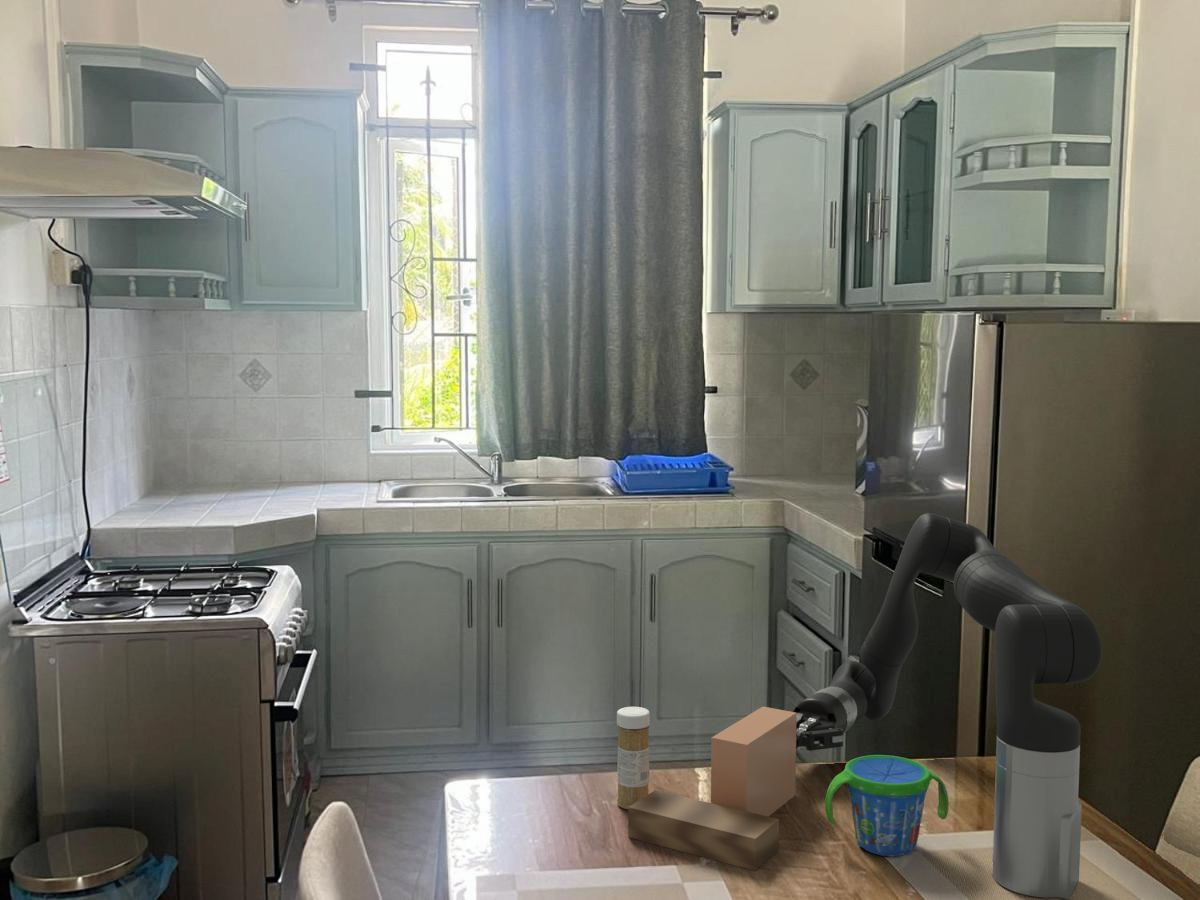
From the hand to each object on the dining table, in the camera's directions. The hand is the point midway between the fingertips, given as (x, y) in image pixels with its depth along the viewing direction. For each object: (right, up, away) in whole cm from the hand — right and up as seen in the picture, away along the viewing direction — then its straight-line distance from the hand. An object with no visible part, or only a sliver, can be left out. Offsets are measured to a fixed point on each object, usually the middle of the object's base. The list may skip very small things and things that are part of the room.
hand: (779, 747), depth 164 cm
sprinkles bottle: (-21, -7, -4) cm, 23 cm away
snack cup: (+11, -8, -18) cm, 22 cm away
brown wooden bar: (-13, -8, -17) cm, 22 cm away
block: (-4, -7, -6) cm, 10 cm away
